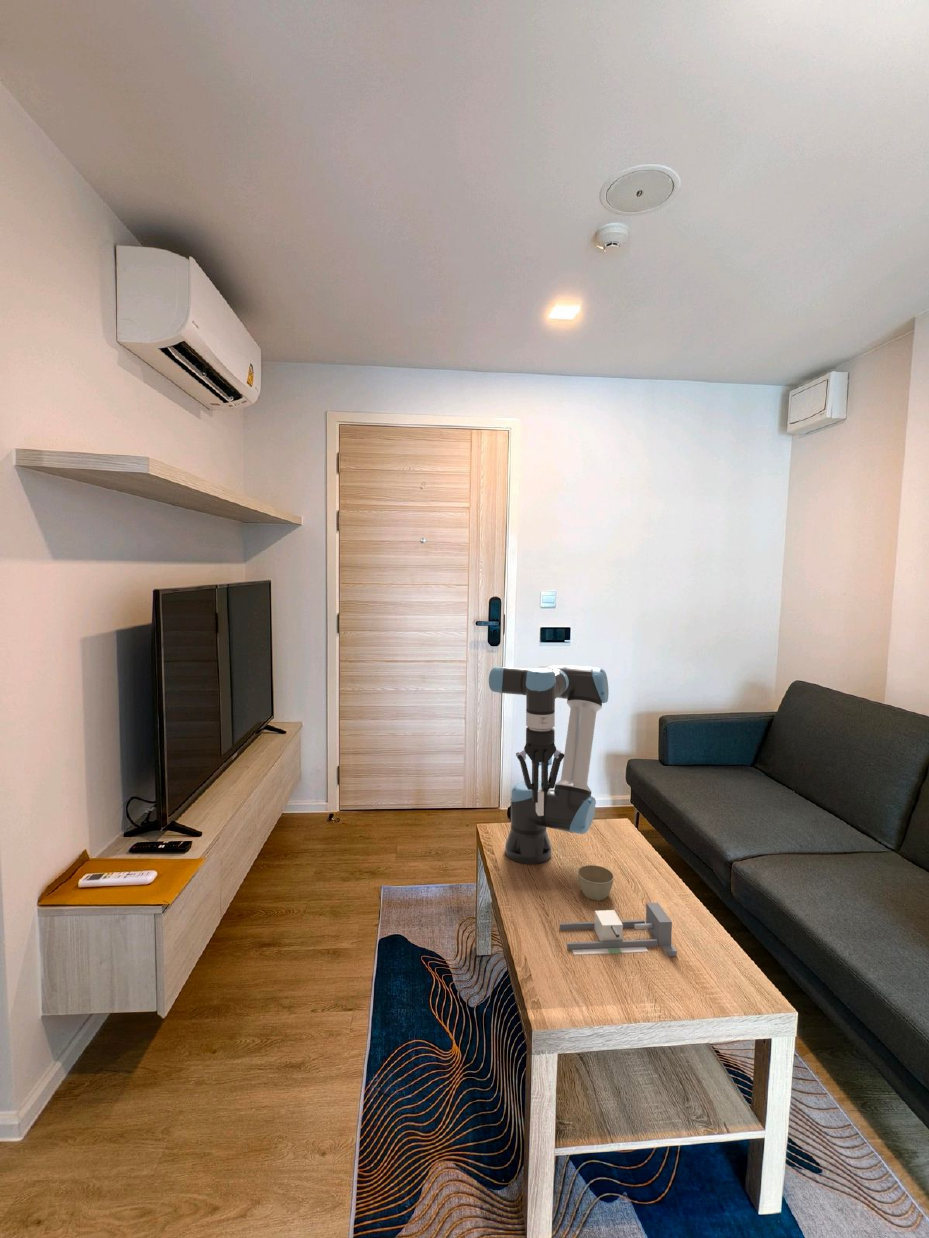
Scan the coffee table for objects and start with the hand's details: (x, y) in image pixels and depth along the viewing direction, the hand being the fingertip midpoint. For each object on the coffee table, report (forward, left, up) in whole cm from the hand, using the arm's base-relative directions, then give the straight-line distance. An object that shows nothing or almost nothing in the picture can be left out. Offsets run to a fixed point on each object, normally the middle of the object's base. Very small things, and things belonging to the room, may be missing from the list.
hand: (539, 813), depth 147 cm
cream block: (+16, +15, -26) cm, 34 cm away
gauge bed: (+14, +15, -27) cm, 34 cm away
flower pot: (-5, +17, -27) cm, 33 cm away
